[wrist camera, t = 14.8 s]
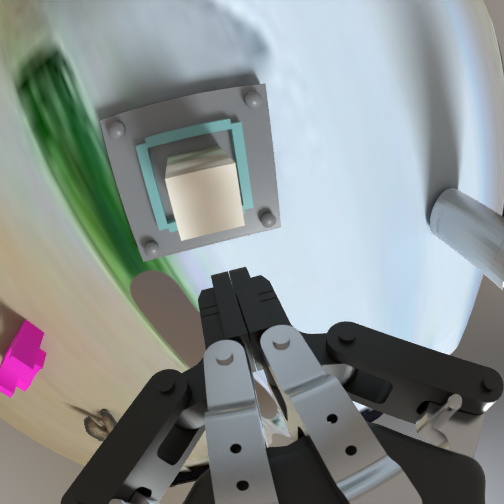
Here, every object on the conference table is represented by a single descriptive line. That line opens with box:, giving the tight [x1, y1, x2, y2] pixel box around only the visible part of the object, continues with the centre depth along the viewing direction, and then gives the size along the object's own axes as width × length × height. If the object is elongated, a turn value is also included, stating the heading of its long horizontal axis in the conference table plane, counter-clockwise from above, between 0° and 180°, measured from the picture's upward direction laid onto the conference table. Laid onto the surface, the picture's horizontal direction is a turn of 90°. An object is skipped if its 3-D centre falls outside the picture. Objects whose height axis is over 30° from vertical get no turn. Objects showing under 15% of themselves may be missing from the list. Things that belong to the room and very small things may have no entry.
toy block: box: [0, 320, 46, 398], centre depth 30 cm, size 15×6×8 cm, turn 126°
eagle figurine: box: [84, 410, 117, 441], centre depth 45 cm, size 8×7×9 cm
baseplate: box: [100, 84, 281, 262], centre depth 27 cm, size 16×16×2 cm
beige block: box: [165, 145, 245, 241], centre depth 23 cm, size 5×5×8 cm
